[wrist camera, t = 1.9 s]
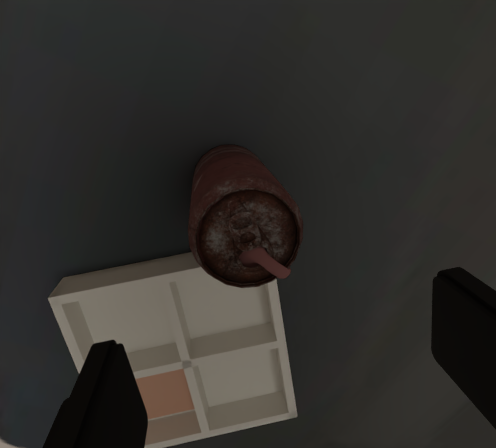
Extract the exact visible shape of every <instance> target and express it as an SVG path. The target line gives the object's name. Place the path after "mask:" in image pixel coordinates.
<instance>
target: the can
mask: <svg viewBox="0 0 496 448" xmlns="http://www.w3.org/2000/svg"><path fill="white" fill-rule="evenodd" d="M188 235H189V247H190V249H191V251H192V253H193V256H194V258H195V260H196V262H197V263H198V264H199V265H200V266H201V267H202V269H203V270H204V271H205V272H206V273H207V274H208V275H210V276H212V277H213V278H215V279H216V280H218V281H220V282H222V283H224V284H225V285H229V286H234V287H239V288H250V287H259V286H261V285H264V284H267V283H270V282H272V281H274V280H275V279H277V278H286V277H287V276H288V275H289V274H290V273H291V269H290V265H291V264H292V263H293V262H294V260H295V258H296V256H297V253H298V250H299V248H300V245H301V242H302V239H303V221H302V217H301V214H300V211H299V208H298V206H297V204H296V203H295V201H294V200H293V199H292V197H291V196H290V195H289V193H288V192H287V191H286V190H285V189H284V188H283V186H282V185H281V184H280V183H279V182H278V181H277V179H276V178H275V177H274V176H273V175H272V174H271V173H270V171H269V170H268V169H267V168H266V167H265V166H264V164H263V163H262V162H261V161H260V160H259V159H258V158H257V156H256V155H255V154H253V153H252V152H250V151H249V150H248V149H246V148H244V147H240V146H237V145H221V146H219V147H216V148H213V149H211V150H210V151H208V152H207V153H206V154H205V155H203V156H202V158H201V159H200V161H199V162H198V164H197V165H196V168H195V171H194V175H193V182H192V193H191V203H190V214H189V224H188Z"/></svg>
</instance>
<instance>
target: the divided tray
mask: <svg viewBox="0 0 496 448" xmlns="http://www.w3.org/2000/svg"><path fill="white" fill-rule="evenodd" d="M48 300H49V302H50V305H51V307H52V310H53V312H54V315H55V317H56V319H57V322H58V324H59V327H60V329H61V331H62V334H63V336H64V339H65V341H66V344H67V346H68V348H69V351H70V353H71V356H72V358H73V361H74V363H75V365H76V368H77V370H78V373H79V374H80V371H81V369H82V367H83V364H84V362H85V360H86V357H87V355H88V353H89V350H90V348H91V346H92V344H94V343H99V342H104V341H108V340H115V341H116V343H117V344H119V343H122V344H123V346H124V348H125V351H126V354H127V357H128V360H129V362H130V365H131V368H132V371H133V374H134V377H135V380H136V383H137V385H138V388H139V391H140V394H141V397H142V400H143V403H144V405H145V408H146V411H147V416H148V428H147V434H146V440H145V447H144V448H164V447H168V446H173V445H177V444H181V443H186V442H190V441H195V440H199V439H203V438H208V437H212V436H216V435H221V434H225V433H230V432H234V431H238V430H243V429H247V428H251V427H256V426H260V425H265V424H269V423H273V422H278V421H282V420H286V419H291V418H295V417H297V410H296V404H295V397H294V391H293V384H292V378H291V371H290V365H289V358H288V352H287V345H286V339H285V332H284V326H283V319H282V313H281V306H280V300H279V293H278V287H277V280H276V279H275V280H274V281H272V282H270V283H267V284H264V285H261V286H259V287H250V288H239V287H234V286H229V285H225V284H224V283H222V282H220V281H218V280H216V279H215V278H213V277H212V276H210V275H208V274H207V273H206V272H205V271H204V270H203V269H202V267H201V266H200V265H199V264H198V263H197V262H196V260H195V258H194V256H193V253H192V252H189V253H184V254H179V255H174V256H169V257H164V258H159V259H153V260H148V261H143V262H138V263H133V264H128V265H123V266H118V267H113V268H108V269H103V270H98V271H93V272H88V273H83V274H78V275H73V276H68V277H63V278H62V280H61V281H60V282H59V284H58V285H57V286H56V288H55V289H54V290H53V292H52V293H51V294H50V296H49V297H48Z"/></svg>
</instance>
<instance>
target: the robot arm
mask: <svg viewBox="0 0 496 448" xmlns="http://www.w3.org/2000/svg"><path fill="white" fill-rule="evenodd" d="M431 349H432V354H433V356H434V358H435V360H436V361H437V362H438V364H439V365H440V366H441V367H442V368H443V369H444V370H445V372H446V373H447V374H448V375H449V376H450V377H451V378H452V380H453V381H454V382H455V383H456V384H457V385H458V387H459V388H460V389H461V390H462V391H463V392H464V393H465V395H466V396H467V397H468V398H469V399H470V400H471V401H472V403H473V404H474V405H475V406H476V407H477V408H478V409H479V411H480V412H481V413H482V414H483V415H484V416H485V417H486V419H487V420H488V421H489V422H490V423H491V424H492V426H493V427H494V428H495V429H496V291H495V290H494V289H492V288H491V287H489V286H488V285H486V284H485V283H483V282H482V281H480V280H479V279H477V278H476V277H474V276H473V275H472V274H470V273H469V272H467V271H466V270H464V269H463V268H460V267H456V268H451V269H446V270H442V271H439V272H438V274H437V277H434V279H433V294H432V340H431ZM147 428H148V416H147V411H146V408H145V405H144V403H143V400H142V397H141V394H140V391H139V388H138V385H137V383H136V380H135V377H134V374H133V371H132V368H131V365H130V362H129V360H128V357H127V354H126V351H125V348H124V346H123V344H122V343H119V344H117V343H116V341H115V340H108V341H104V342H99V343H94V344H92V346H91V348H90V350H89V353H88V355H87V357H86V360H85V362H84V364H83V367H82V369H81V371H80V374H79V376H78V379H77V381H76V383H75V386H74V388H73V390H72V393H71V395H70V397H69V398H67V399H66V400H65V401H64V402H63V403H62V405H61V407H60V409H59V412H58V414H57V416H56V418H55V421H54V423H53V425H52V427H51V430H50V432H49V434H48V437H47V439H46V441H45V443H44V446H43V448H144V447H145V440H146V434H147Z"/></svg>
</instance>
